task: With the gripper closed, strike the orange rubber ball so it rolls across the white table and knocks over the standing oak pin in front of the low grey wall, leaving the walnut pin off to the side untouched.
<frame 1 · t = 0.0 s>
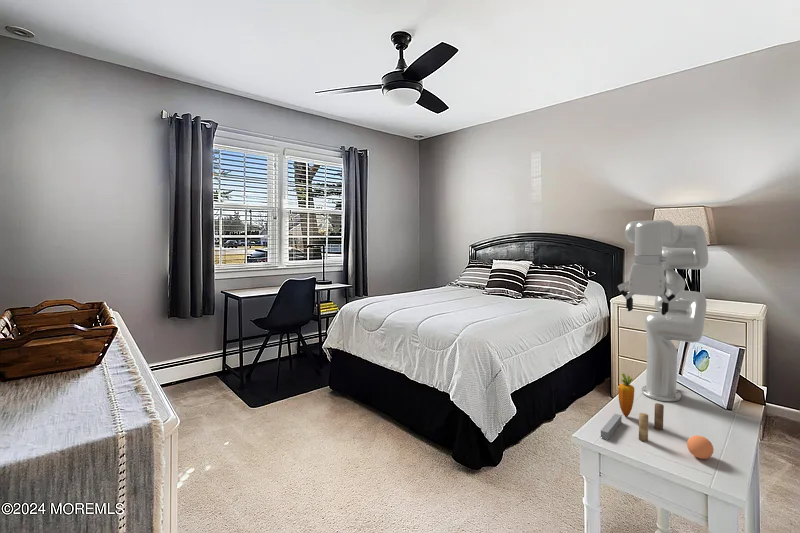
hand: (646, 312, 130), 37 cm above the table, tool pointing down, fingers open, 9 cm apart
carrot: (625, 417, 136), on the table
oak pin: (643, 439, 122), on the table
walnut pin: (658, 428, 128), on the table
back wall: (611, 429, 129), on the table
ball: (700, 446, 112), on the table
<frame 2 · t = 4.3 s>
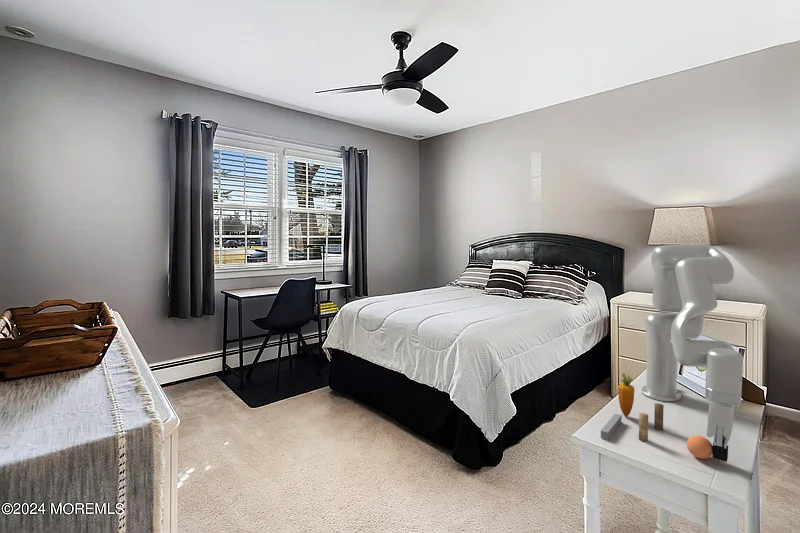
hand: (719, 458, 109), 1 cm above the table, tool pointing down, fingers closed
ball: (699, 446, 112), on the table, touching gripper
everything else where it was.
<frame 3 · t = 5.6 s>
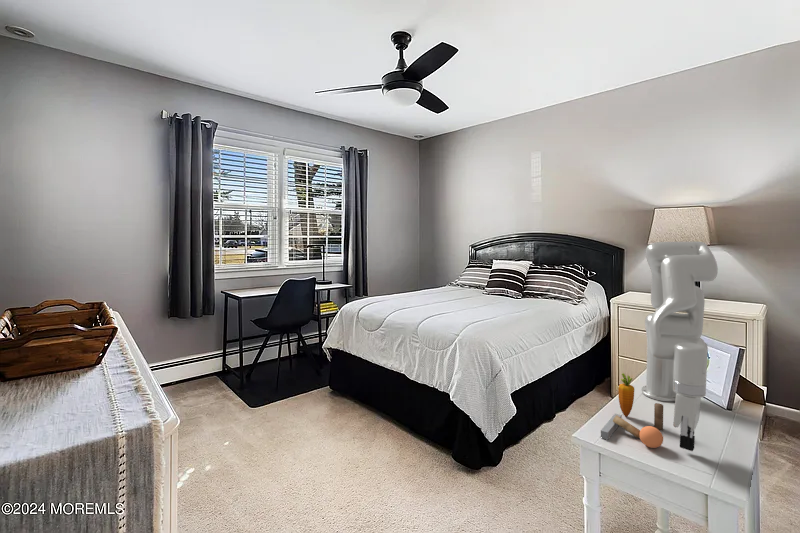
hand: (686, 448, 115), 2 cm above the table, tool pointing down, fingers closed
oak pin: (640, 435, 123), point 1 cm above the table, tilted 70°, touching back wall
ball: (651, 436, 118), on the table
everything else where it was.
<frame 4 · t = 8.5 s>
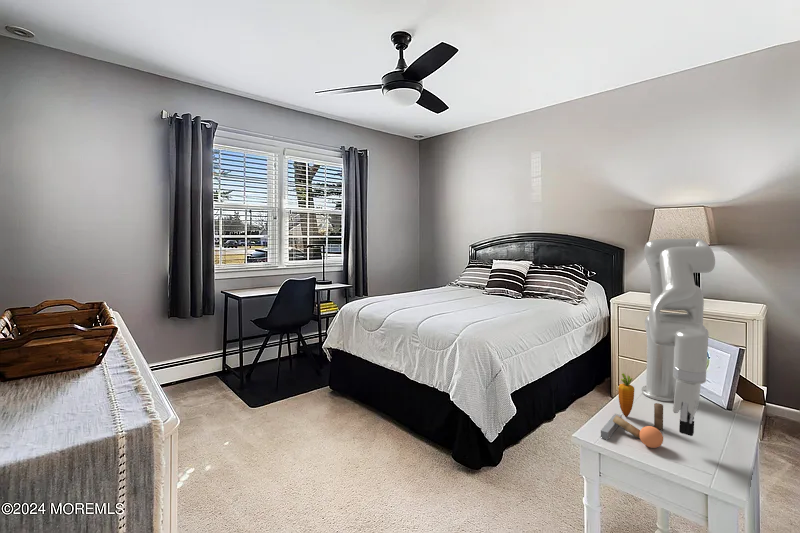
hand: (686, 433, 115), 5 cm above the table, tool pointing down, fingers closed
nothing on the table moved.
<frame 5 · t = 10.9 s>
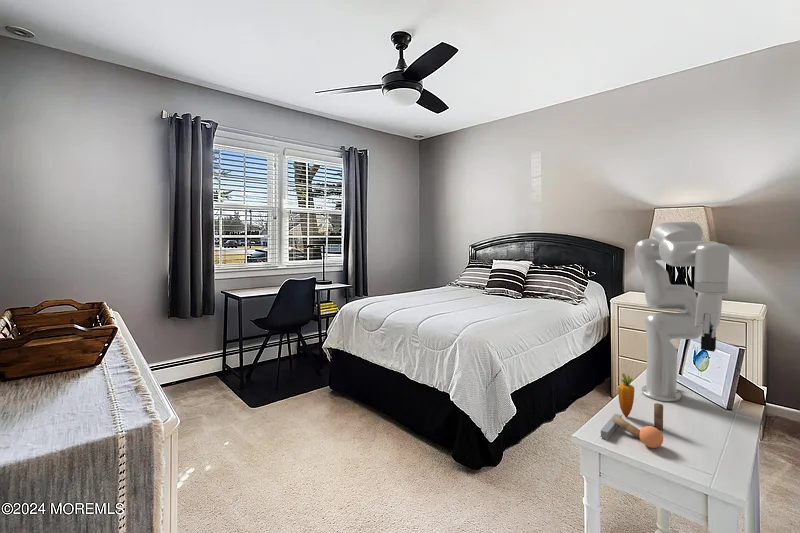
hand: (708, 349, 115), 29 cm above the table, tool pointing down, fingers closed
nothing on the table moved.
at the end: oak pin tilted 70°; oak pin never touched the robot; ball moved 11.7 cm from its start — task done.
